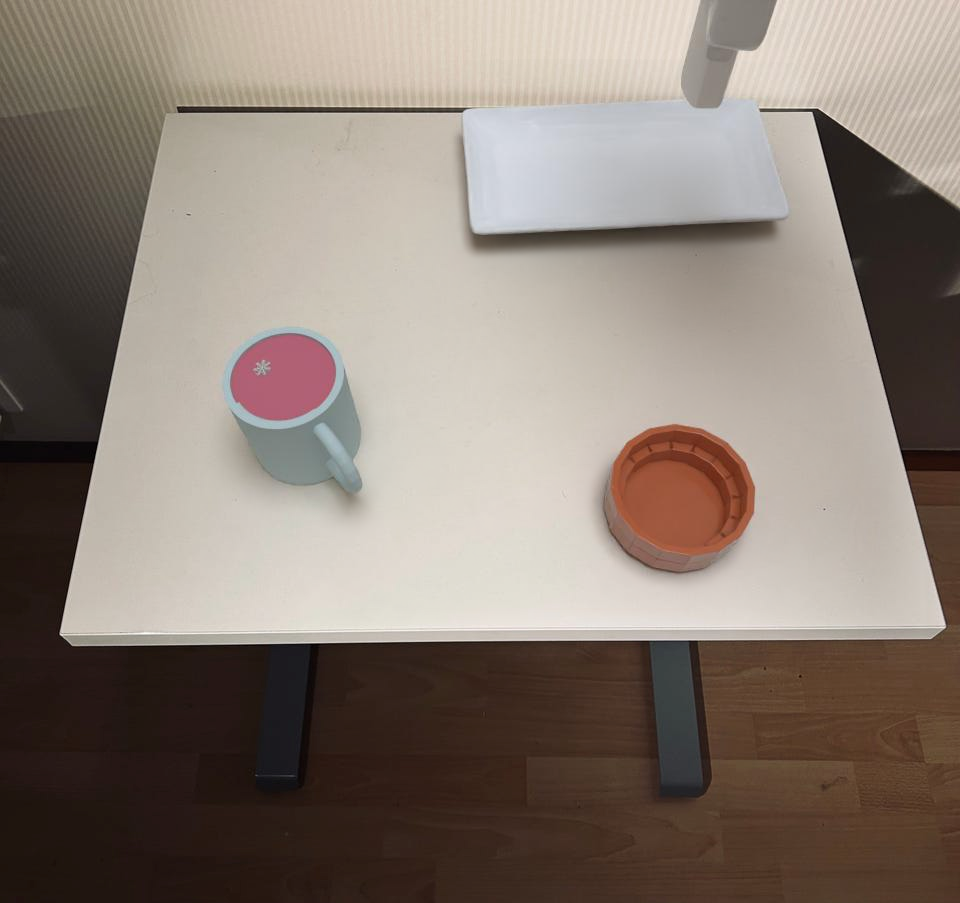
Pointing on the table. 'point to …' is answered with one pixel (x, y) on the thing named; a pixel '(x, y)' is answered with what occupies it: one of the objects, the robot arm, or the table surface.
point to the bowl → (678, 497)
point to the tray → (618, 166)
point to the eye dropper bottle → (704, 67)
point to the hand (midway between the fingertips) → (720, 24)
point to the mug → (295, 406)
